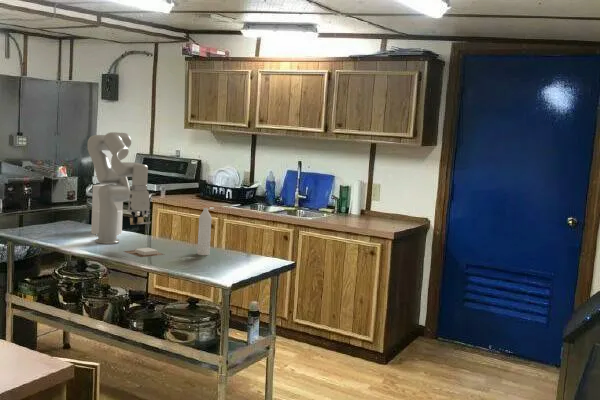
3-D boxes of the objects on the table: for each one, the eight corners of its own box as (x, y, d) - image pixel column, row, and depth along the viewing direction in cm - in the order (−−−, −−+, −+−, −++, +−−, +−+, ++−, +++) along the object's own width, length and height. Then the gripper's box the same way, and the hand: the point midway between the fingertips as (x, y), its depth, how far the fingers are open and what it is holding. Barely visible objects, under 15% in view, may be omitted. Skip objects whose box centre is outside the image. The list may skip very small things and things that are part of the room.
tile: (135, 249, 318) (144, 251, 313) (148, 247, 324) (157, 250, 318) (134, 252, 318) (144, 255, 313) (148, 251, 324) (157, 254, 319)
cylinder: (91, 230, 379) (93, 183, 376) (121, 230, 385) (123, 185, 382) (91, 235, 363) (92, 187, 360) (122, 235, 368) (124, 188, 365)
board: (123, 254, 320) (123, 251, 320) (146, 251, 330) (146, 248, 330) (141, 260, 309) (141, 257, 309) (164, 257, 320) (164, 254, 320)
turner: (127, 225, 326) (127, 218, 326) (137, 224, 330) (136, 217, 330) (141, 224, 317) (141, 216, 318) (151, 223, 322) (150, 216, 322)
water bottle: (203, 256, 327) (205, 209, 325) (194, 254, 331) (197, 207, 329) (215, 254, 334) (217, 208, 332) (206, 252, 338) (209, 206, 335)
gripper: (129, 189, 314) (128, 226, 317) (157, 188, 326) (155, 224, 328) (121, 187, 319) (120, 223, 322) (148, 187, 331) (147, 221, 333)
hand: (137, 223), depth 325 cm, fingers closed on turner, 2 cm apart
